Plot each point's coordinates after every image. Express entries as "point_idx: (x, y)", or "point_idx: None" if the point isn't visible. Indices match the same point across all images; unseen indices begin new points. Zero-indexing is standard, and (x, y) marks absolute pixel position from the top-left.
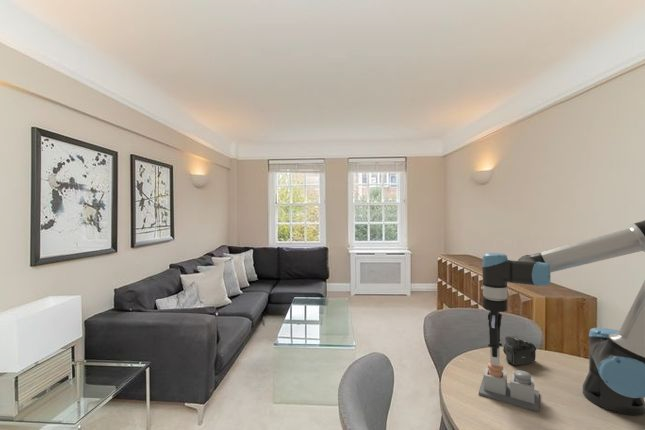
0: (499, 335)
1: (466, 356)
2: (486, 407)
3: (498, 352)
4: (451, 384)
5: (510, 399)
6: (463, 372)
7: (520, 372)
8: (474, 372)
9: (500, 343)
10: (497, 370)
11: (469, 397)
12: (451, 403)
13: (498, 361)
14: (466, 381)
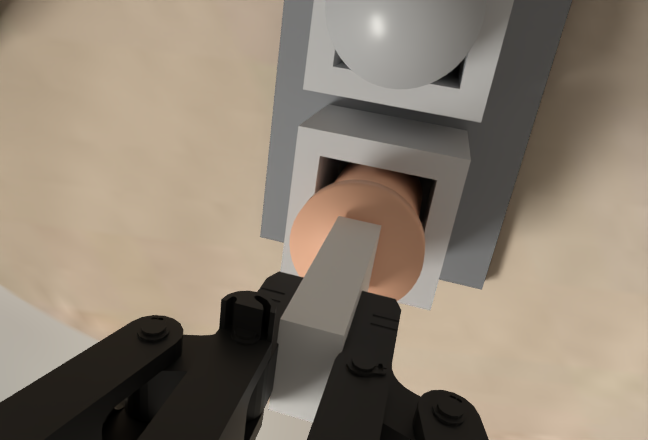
0: (112, 392)
1: (37, 292)
2: (626, 256)
3: (355, 306)
4: None
5: (510, 103)
6: None
7: (377, 24)
8: (211, 272)
9: (221, 316)
10: (424, 237)
11: (532, 333)
12: (633, 429)
13: (372, 253)
14: None
